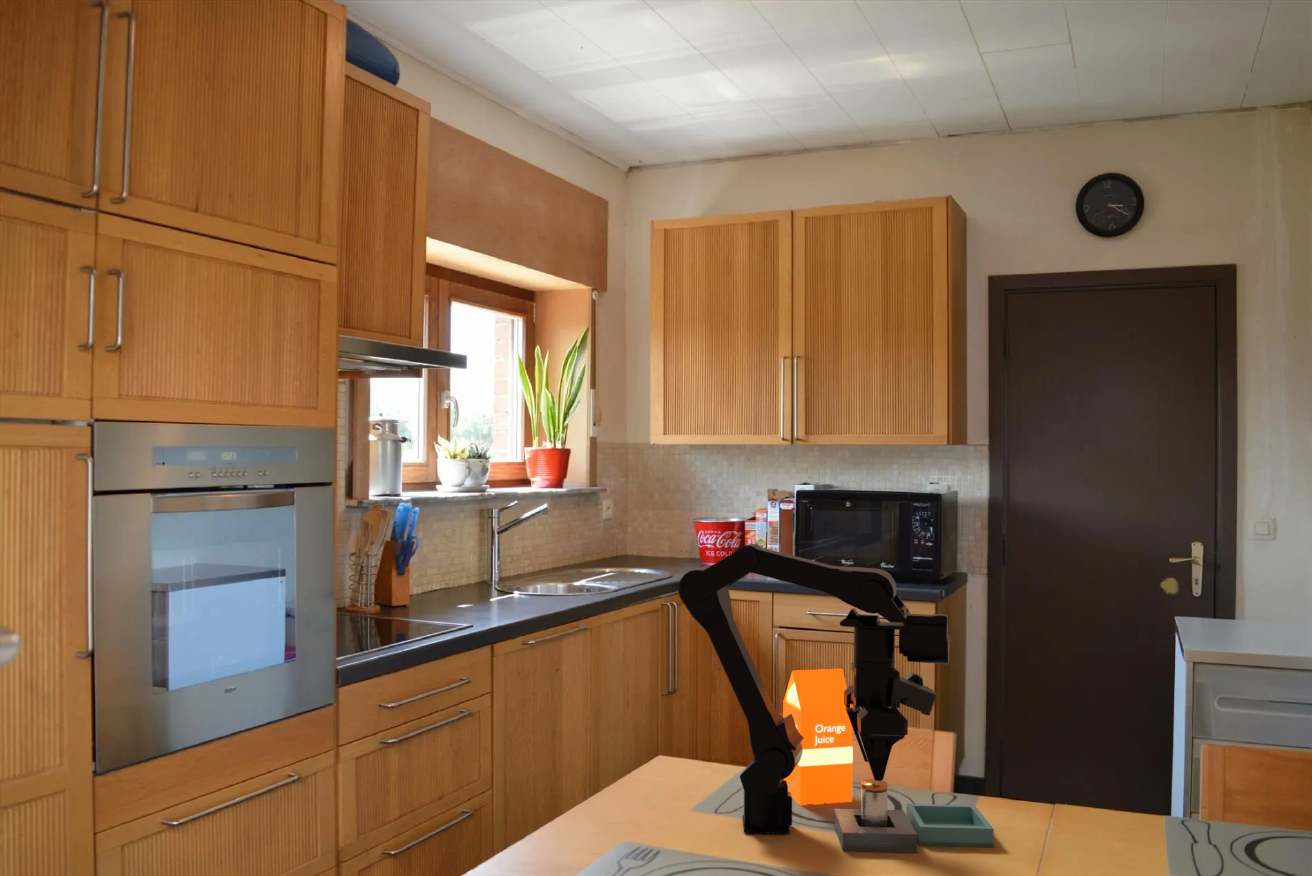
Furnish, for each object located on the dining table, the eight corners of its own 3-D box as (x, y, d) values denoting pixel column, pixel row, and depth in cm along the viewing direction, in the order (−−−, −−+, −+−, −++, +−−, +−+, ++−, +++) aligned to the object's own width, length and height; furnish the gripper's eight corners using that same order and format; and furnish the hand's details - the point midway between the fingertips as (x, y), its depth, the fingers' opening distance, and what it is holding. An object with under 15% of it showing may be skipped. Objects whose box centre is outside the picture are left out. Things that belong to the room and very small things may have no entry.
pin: (863, 843, 145) (863, 786, 145) (859, 834, 148) (859, 779, 149) (889, 844, 145) (889, 787, 145) (884, 835, 148) (885, 779, 148)
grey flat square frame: (842, 851, 142) (842, 832, 142) (834, 826, 152) (834, 808, 152) (917, 853, 141) (917, 834, 141) (903, 827, 151) (903, 810, 151)
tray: (920, 845, 144) (920, 827, 144) (906, 821, 154) (906, 804, 154) (993, 847, 144) (993, 828, 144) (975, 822, 154) (975, 805, 154)
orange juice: (782, 790, 168) (782, 666, 169) (833, 787, 171) (833, 664, 171) (800, 806, 161) (800, 675, 162) (853, 802, 163) (853, 673, 164)
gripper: (946, 673, 138) (946, 793, 137) (918, 649, 156) (918, 754, 156) (861, 671, 138) (860, 790, 138) (843, 647, 157) (842, 752, 156)
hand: (873, 770), depth 147 cm, fingers open, 9 cm apart
